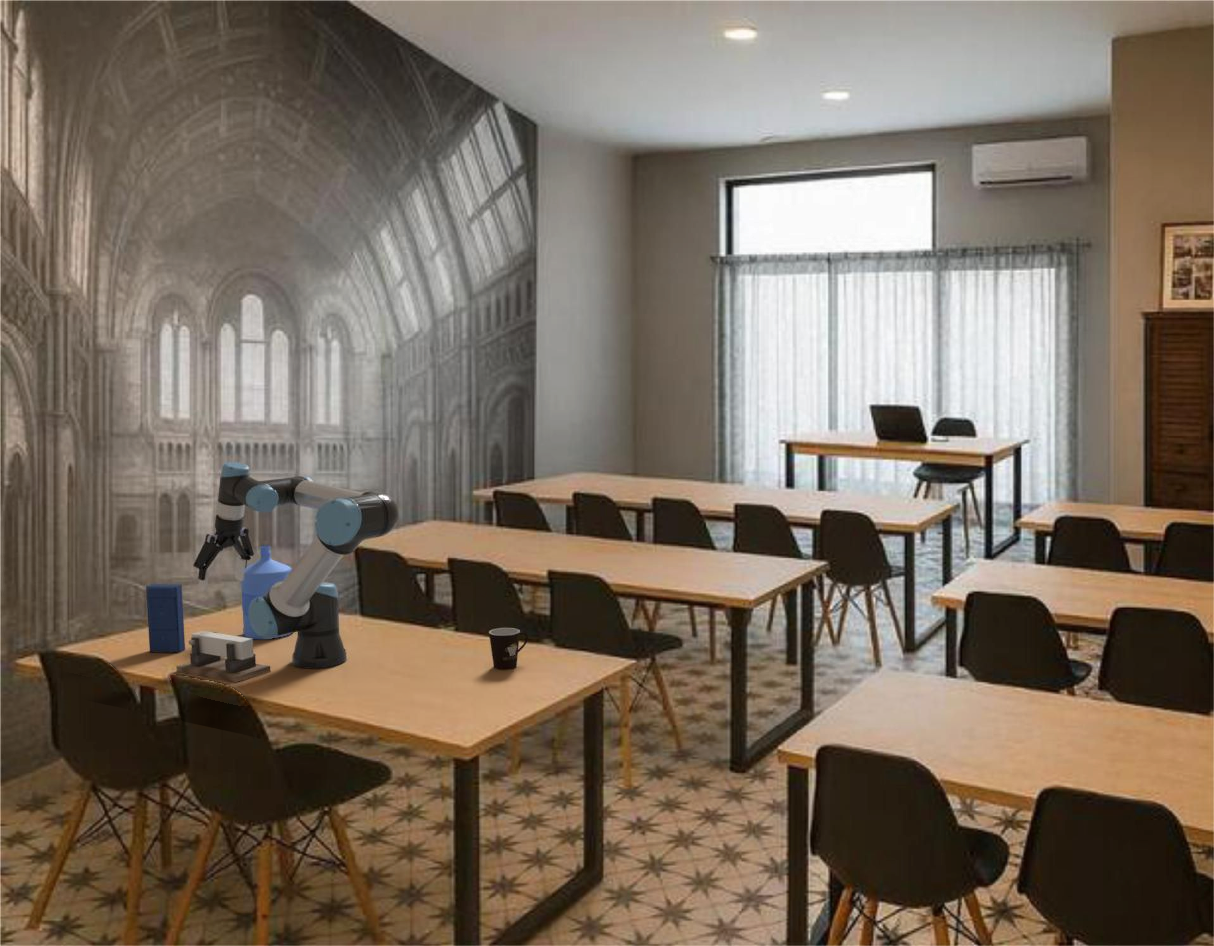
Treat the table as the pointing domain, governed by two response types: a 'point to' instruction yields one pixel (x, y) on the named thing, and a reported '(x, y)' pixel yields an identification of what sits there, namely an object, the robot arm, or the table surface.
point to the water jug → (260, 585)
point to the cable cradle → (221, 664)
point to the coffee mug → (505, 647)
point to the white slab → (224, 644)
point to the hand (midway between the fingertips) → (221, 584)
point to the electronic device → (165, 617)
